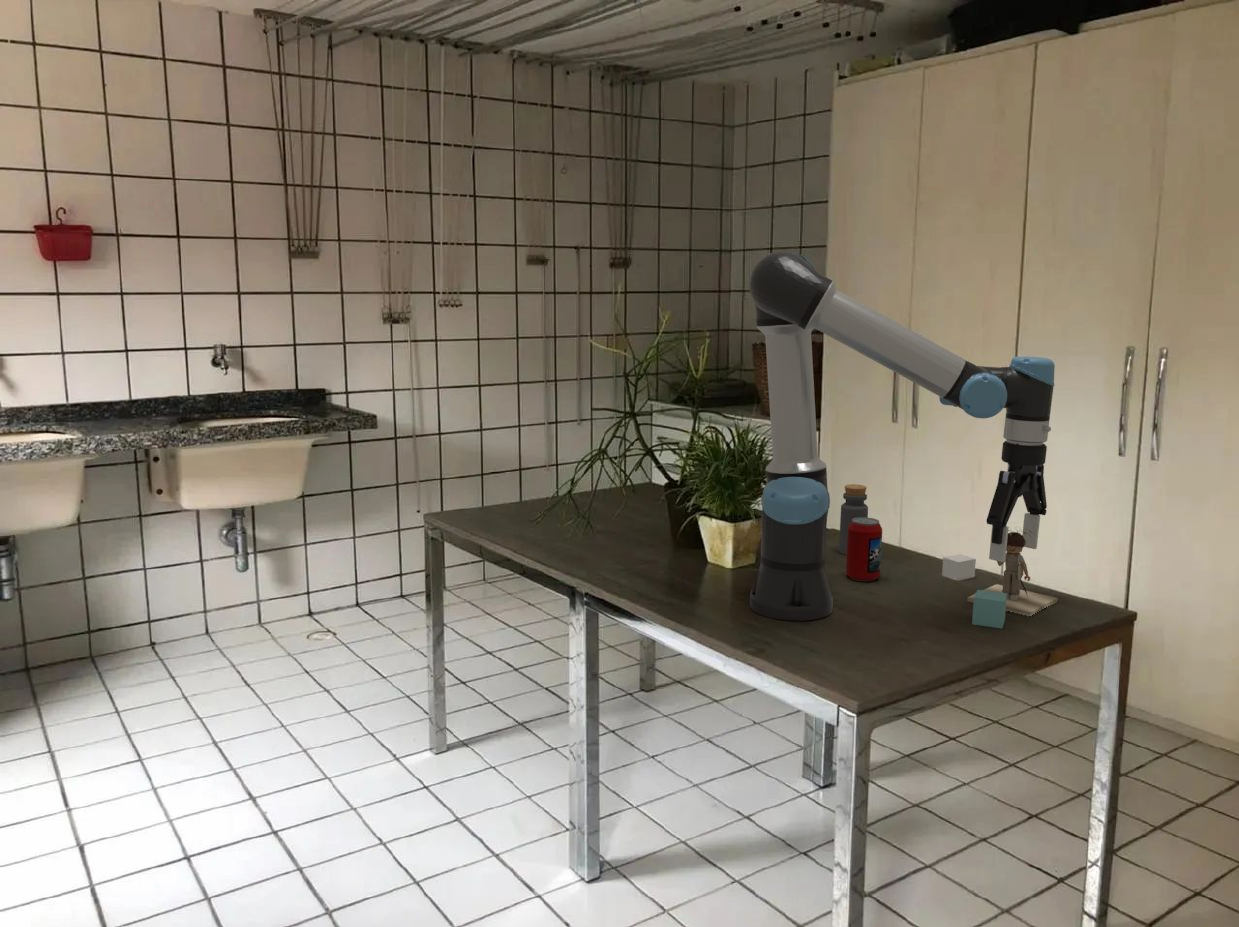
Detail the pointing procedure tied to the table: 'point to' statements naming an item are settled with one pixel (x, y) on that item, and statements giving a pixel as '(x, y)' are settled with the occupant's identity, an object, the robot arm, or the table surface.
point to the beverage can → (864, 549)
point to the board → (1023, 601)
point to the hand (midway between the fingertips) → (1013, 553)
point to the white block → (958, 567)
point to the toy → (1014, 565)
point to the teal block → (989, 609)
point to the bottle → (851, 511)
